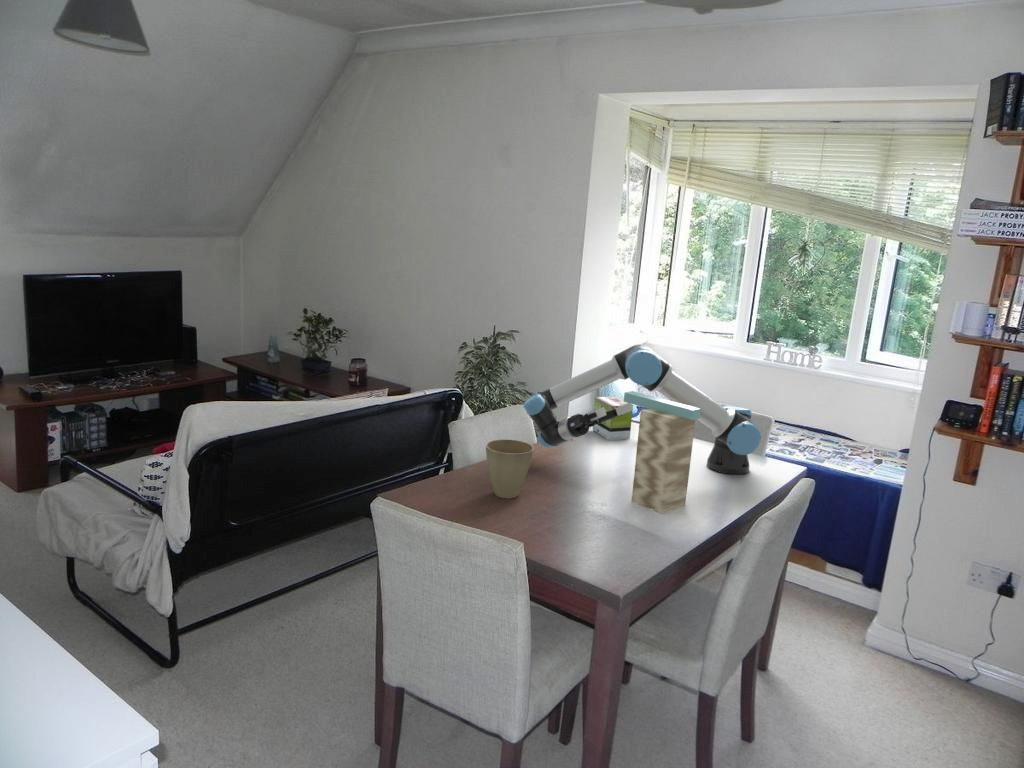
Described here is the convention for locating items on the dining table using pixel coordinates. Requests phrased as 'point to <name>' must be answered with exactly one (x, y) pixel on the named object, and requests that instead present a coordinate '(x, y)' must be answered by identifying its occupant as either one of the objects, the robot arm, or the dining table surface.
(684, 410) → the teal block
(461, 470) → the dining table surface
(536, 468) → the dining table surface
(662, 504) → the wooden stand
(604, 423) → the tea box
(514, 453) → the plant pot
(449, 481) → the dining table surface
